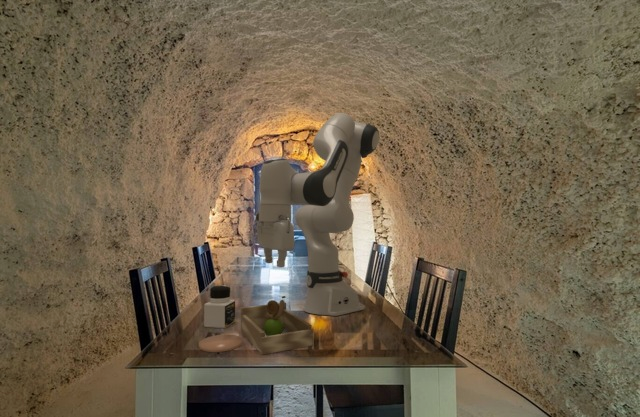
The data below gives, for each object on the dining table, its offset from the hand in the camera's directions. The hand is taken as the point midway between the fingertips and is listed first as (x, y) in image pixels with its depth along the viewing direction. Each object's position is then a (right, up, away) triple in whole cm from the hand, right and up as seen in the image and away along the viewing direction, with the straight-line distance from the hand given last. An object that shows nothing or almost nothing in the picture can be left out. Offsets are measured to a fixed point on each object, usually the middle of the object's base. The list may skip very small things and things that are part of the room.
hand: (274, 265), depth 99 cm
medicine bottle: (-19, -21, +12) cm, 31 cm away
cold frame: (0, -20, 0) cm, 20 cm away
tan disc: (-14, -20, -5) cm, 25 cm away
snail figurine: (0, -21, 0) cm, 21 cm away
